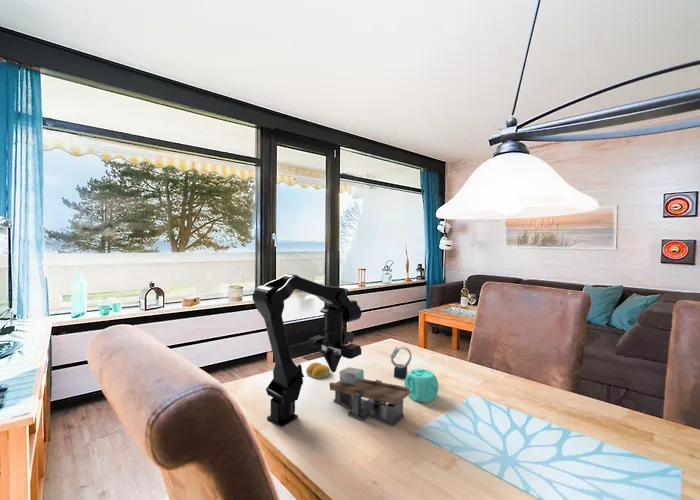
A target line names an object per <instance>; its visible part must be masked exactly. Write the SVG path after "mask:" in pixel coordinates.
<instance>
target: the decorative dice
mask: <svg viewBox="0 0 700 500" xmlns="http://www.w3.org/2000/svg"><path fill="white" fill-rule="evenodd" d="M404 387H409V395H408V396H407V397H409V398H410V399H411V400H413V401H414V402H418V403H428V402H431V401H433V400H434V399H435V398H436V397H437V395H438V393H439V389H440V388H439V387H440V386H439V381H438V378H437V377H436V375H435V373H433V372H432V371H431V370H429V369H425V368H413V369H411V370H410V371H409V372H407V376H406V378H405V379H404Z"/></svg>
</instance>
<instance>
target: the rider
mask: <svg viewBox="0 0 700 500" xmlns="http://www.w3.org/2000/svg"><path fill="white" fill-rule="evenodd" d="M364 379H365V375H364V369H361V368H355V367H350V366H348V367H346V368H343V369H341V370H339V381H340V384H342V385H346V386H351V387H356V388H358V387H360V386H362V385H363V384H364Z"/></svg>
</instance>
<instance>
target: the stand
mask: <svg viewBox="0 0 700 500" xmlns="http://www.w3.org/2000/svg"><path fill="white" fill-rule="evenodd" d="M375 381H377V382H382V383H383V381H382V380H379V379H375ZM361 396H362V394H360V393H357V392H355V393H354V394H353V395H351V394H346V393H342V392H338V391H334V399H333V403H336V404H338V405H341V406H343V407H346V408H349V409H351V410H350V411H348V412H347V415H348V417H352V418H354V419H356V420H358V421H361V422H363V421H364V420H365V419H367V418H369V417H370V418H373V419H376V420H378V421H381V422H383V423H385V424H388V425H391V426H392V427H395V426H396V425H397V424H398V423H400V422H401V421H402V420H403V419H404V418H405V414H404V399H403V400H401V401H400V402H399V403H397V404H396V405H394V404H390V403H386V402H381V401H377V400H373V399H368V398H367V399H364V398H362V397H361ZM386 404H387V405H386ZM385 405H386V406H385Z"/></svg>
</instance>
